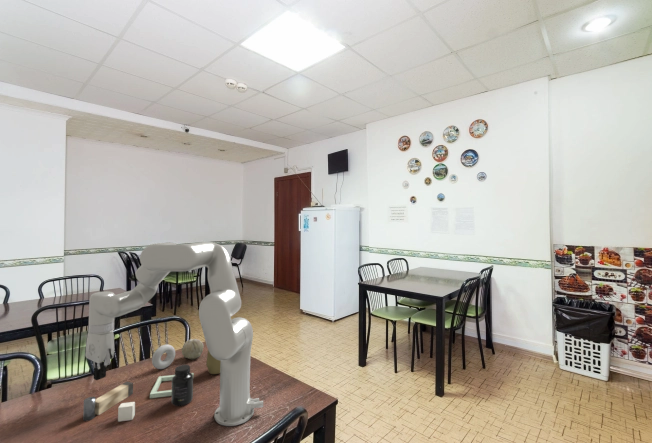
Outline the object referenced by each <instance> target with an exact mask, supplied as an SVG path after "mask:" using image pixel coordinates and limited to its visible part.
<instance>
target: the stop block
mask: <svg viewBox="0 0 652 443" xmlns="http://www.w3.org/2000/svg"><path fill="white" fill-rule="evenodd" d="M117 410H118V412H117V422H125V421H133V419H134V417H135V414H136V402H135V401H130V402H129V401H128V402H122V403H120V405H119V406H118V408H117Z"/></svg>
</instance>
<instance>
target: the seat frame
mask: <svg viewBox="0 0 652 443" xmlns="http://www.w3.org/2000/svg"><path fill="white" fill-rule="evenodd" d="M190 373H191V374H192V375H193V378H195V376H194V374H195V373H194V372H190ZM174 376H175V374H172V375H171V374H170V375H162V376H161V375H160V376H158V377H157V379H156V381H155V383H154V385H153V387H152V389H151V390H150V393H149V399H156V398H163V397H164V398H165V397H172V389H168V390H160V391H158V390H159V388H160V385H161V383H162V382H168V381H172V378H173V377H174Z"/></svg>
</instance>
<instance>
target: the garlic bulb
mask: <svg viewBox="0 0 652 443" xmlns="http://www.w3.org/2000/svg"><path fill="white" fill-rule="evenodd" d="M203 350H204V343H203V342H202V340H200V339H199V338H198V339H197V338H190V339H189V340H186V341H185V342H184V343H183V345H182V348H181V355H182V356H183V358H185V359H189V360H191V361H192V360H193V361H194V360H196V359H198V358H199V357H201V355H202V354H203Z"/></svg>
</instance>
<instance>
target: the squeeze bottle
mask: <svg viewBox="0 0 652 443" xmlns="http://www.w3.org/2000/svg"><path fill="white" fill-rule="evenodd" d="M220 365H221V361H220V360H217V359H215V358H214V357H213V356H212V355H211V354H210V352H209V350H208V349H207V356H206V367H207V370H208V371H207V372H208V373H209V374H210V375H218V374H220Z"/></svg>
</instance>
